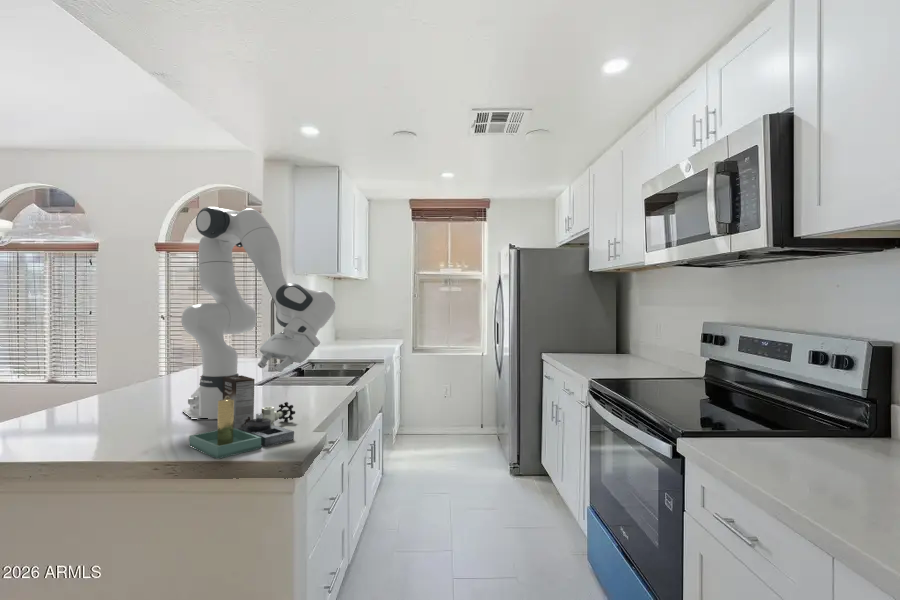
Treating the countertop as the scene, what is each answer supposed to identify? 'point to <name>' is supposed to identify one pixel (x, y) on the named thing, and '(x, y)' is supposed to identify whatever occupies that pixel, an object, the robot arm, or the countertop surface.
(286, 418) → the valve
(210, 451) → the tray
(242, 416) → the coffee box
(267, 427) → the block
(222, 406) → the pin
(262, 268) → the robot arm
